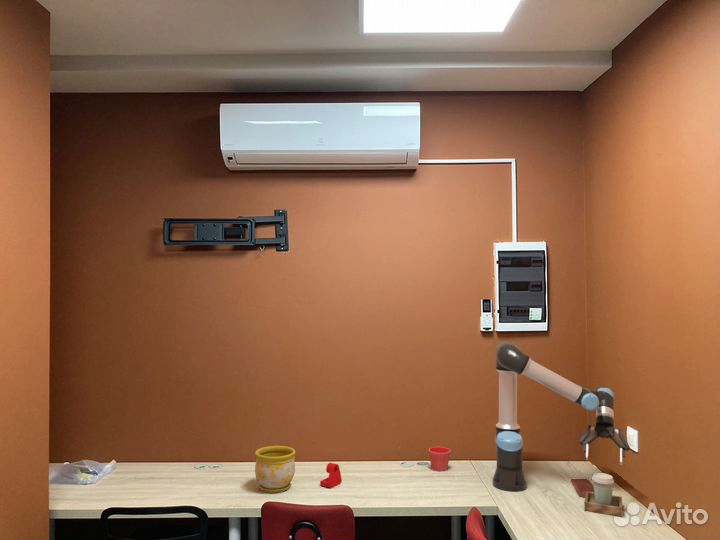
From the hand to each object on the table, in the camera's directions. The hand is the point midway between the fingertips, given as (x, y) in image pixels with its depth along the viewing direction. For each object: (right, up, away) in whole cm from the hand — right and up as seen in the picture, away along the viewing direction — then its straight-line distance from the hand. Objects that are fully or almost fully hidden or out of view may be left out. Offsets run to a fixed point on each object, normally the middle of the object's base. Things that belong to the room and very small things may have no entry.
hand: (603, 461), depth 239 cm
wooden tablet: (-3, -18, +13) cm, 22 cm away
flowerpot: (-145, -15, +9) cm, 146 cm away
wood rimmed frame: (-5, -16, -10) cm, 20 cm away
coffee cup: (-5, -15, -10) cm, 19 cm away
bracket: (-120, -16, +14) cm, 122 cm away
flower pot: (-66, -17, +38) cm, 78 cm away
